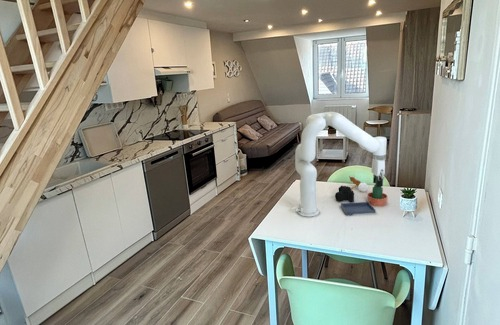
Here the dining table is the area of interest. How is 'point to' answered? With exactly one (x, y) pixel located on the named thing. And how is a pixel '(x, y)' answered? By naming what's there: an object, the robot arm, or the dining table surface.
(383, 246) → the dining table surface
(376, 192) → the bottle
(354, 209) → the tray
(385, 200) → the bowl
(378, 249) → the dining table surface
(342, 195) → the film camera
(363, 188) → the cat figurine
